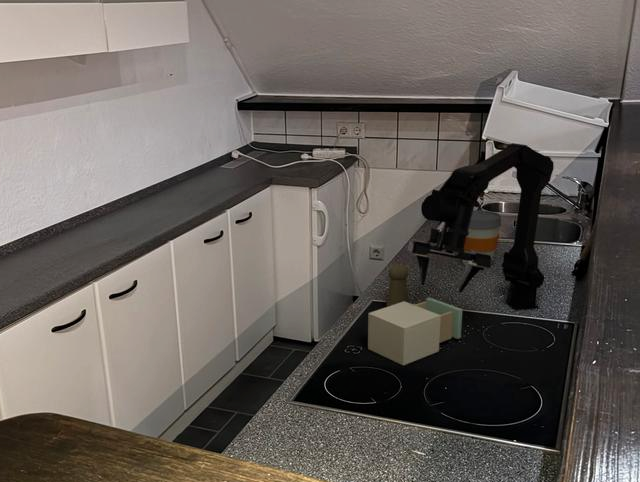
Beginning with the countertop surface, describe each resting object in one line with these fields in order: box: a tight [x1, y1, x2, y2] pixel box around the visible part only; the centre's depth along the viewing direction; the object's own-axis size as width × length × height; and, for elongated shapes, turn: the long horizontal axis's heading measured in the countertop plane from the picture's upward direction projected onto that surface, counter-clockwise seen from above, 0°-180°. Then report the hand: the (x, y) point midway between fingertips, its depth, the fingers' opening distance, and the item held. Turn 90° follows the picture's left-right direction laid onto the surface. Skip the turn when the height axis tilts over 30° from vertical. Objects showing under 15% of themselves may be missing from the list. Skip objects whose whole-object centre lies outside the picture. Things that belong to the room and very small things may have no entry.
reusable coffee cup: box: [461, 209, 502, 268], centre depth 233 cm, size 13×13×15 cm
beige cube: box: [367, 301, 441, 366], centre depth 176 cm, size 12×12×9 cm
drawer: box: [414, 297, 463, 344], centre depth 181 cm, size 12×10×7 cm
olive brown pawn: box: [385, 264, 410, 307], centre depth 202 cm, size 6×6×11 cm
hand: (441, 288), depth 180 cm, fingers open, 9 cm apart
